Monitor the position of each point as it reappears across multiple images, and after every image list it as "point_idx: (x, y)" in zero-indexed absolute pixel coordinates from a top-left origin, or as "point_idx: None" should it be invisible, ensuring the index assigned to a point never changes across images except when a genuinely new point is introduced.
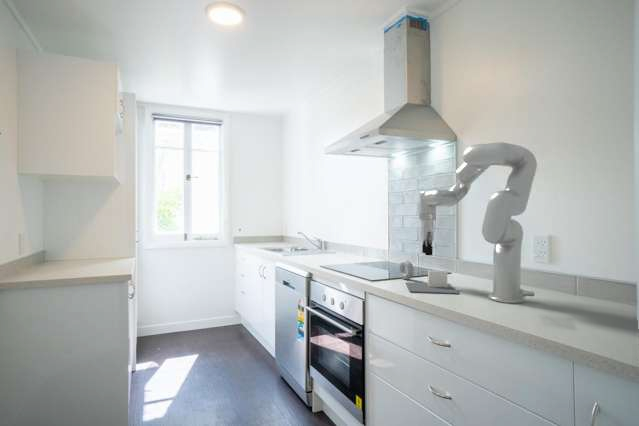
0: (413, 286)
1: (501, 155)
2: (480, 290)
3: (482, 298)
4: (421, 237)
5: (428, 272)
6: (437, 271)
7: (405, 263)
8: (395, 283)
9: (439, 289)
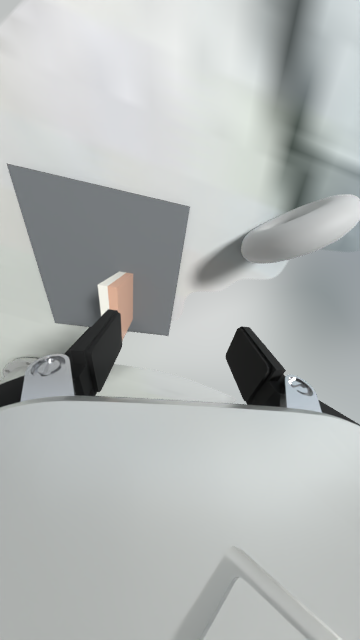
0: (109, 214)
1: None
2: (116, 367)
3: (33, 348)
4: (175, 491)
5: (110, 284)
6: (101, 315)
7: (296, 220)
8: (194, 152)
9: (82, 289)
